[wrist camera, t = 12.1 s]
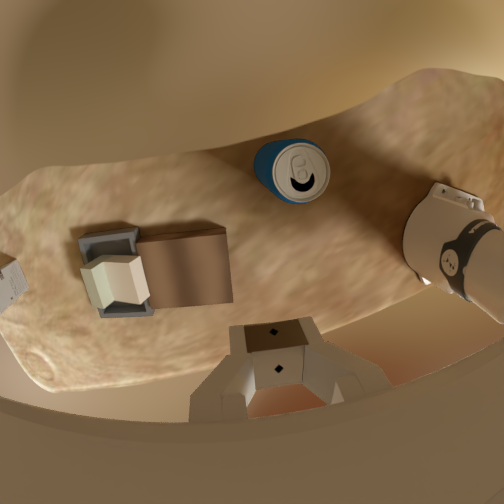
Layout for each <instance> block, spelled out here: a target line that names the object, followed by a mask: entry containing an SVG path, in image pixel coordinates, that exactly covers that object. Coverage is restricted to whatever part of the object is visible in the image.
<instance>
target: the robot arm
mask: <svg viewBox="0 0 504 504" xmlns="http://www.w3.org/2000/svg"><path fill="white" fill-rule="evenodd" d="M442 191H443V192H442ZM403 252H404V256H405V259H406V262H407V263H408V265H409V266H410V267H411V268H412V269H413V270H414V271H416V272H417V273H418V275H419V278H420V280H421V282H422V283H424V284H426V285H428V284H430V283H433V284H434V285H436V286H438V287H439V288H441V289H442V290H444V291H446V292H447V293H453V292H456V294H458V295H459V296H460V297H461V298H463V299H465V300H467V301H469V302H474V303H475V304H476V305H478V306H479V307H480V308H481V309H482V310H484V311H485V312H486V313H487V314H488V315H490V316H491V317H492V318H493V319H495V320H496V321H497V322H498V323H500V324H503V325H504V232H503V231H502V229H501V228H499V227H498V226H497V225H496V224H495V222H494V218H493V216H492V215H491V214H489V213H487V212H484V206H483V201H482V200H481V199H480V198H478V197H476V196H473V195H471V194H468V193H466V192H463V191H460V190H458V189H455V188H452V187H450V186H447V185H444V184H441V183H438V182H437V183H435V184H434V185H433V186H432V188H431V190H430V192H429V194H428V196H427V197H426V198H425V199H424V200H423V201H422V202H420V203H419V204H418V205H417V207H416V208H415V209H414V211H413V212H412V214H411V215H410V217H409V219H408V222H407V224H406V227H405V231H404V237H403ZM229 337H230V352H231V355H226V357H225V358H224V359H223V360H222V361H221V362H220V363H219V365H218V366H217V367H216V368H215V369H214V370H213V371H212V372H211V374H210V375H209V376H208V377H207V378H206V379H205V380H204V381H203V382H202V384H201V385H200V386H199V387H198V388H197V389H196V390H195V391H194V392H193V393H192V394H191V396H190V410H189V422H182V423H181V422H174V423H173V422H170V423H169V422H141V421H125V420H115V419H105V418H97V417H89V416H82V415H76V414H70V413H65V412H59V411H54V410H50V409H45V408H41V407H37V406H32V405H28V404H25V403H21V402H17V401H14V400H11V399H7V398H4V397H1V396H0V504H504V337H503V338H502V339H500V340H498V341H496V342H495V343H493V344H491V345H489V346H487V347H486V348H484V349H482V350H480V351H478V352H476V353H474V354H472V355H470V356H468V357H466V358H464V359H462V360H460V361H457V362H455V363H453V364H451V365H449V366H446V367H444V368H442V369H439V370H437V371H435V372H432V373H430V374H427V375H425V376H422V377H420V378H417V379H415V380H412V381H409V382H407V383H404V384H401V385H398V386H395V387H393V386H392V384H391V383H390V381H389V380H388V378H387V377H386V375H385V374H384V372H383V371H382V369H381V368H380V366H378V365H376V364H374V363H372V362H370V361H367V360H365V359H363V358H361V357H359V356H357V355H355V354H353V353H351V352H349V351H347V350H345V349H343V348H341V347H339V346H337V345H335V344H333V343H331V342H328V341H327V342H324V340H323V338H322V336H321V334H320V332H319V330H318V329H317V327H316V325H315V323H314V321H313V319H312V317H310V316H309V317H303V318H297V319H293V320H286V321H279V322H272V323H271V322H269V323H259V324H248V325H244V326H243V325H238V326H229ZM300 383H302V384H303V385H304V386H305V387H307V388H308V389H309V390H310V391H312V392H313V393H314V394H315V395H317V396H318V397H319V398H320V399H322V400H323V401H324V402H325V403H327V404H328V405H327V406H323V407H318V408H313V409H308V410H303V411H298V412H292V413H286V414H280V415H273V416H266V417H258V418H250V419H248V413H247V406H248V403H249V402H250V400H251V399H252V397H253V395H254V393H255V391H256V390H259V389H266V388H271V387H278V386H285V385H293V384H300Z"/></svg>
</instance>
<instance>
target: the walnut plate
mask: <svg viewBox="0 0 504 504" xmlns="http://www.w3.org/2000/svg"><path fill="white" fill-rule="evenodd" d="M136 247H137V252H138V256H140V257H141V262H142V266H143V270H144V274H145V278H146V282H147V286H148V290H149V293H150V296H149V297H148V299H149V303H150V307H151V309H161V308H175V307H188V306H201V305H212V304H223V303H233V293H232V284H231V274H230V265H229V255H228V245H227V235H226V228H217V229H207V230H197V231H188V232H178V233H169V234H160V235H152V236H143V237H141V238H140V239H139V240H138V242H137V243H136Z"/></svg>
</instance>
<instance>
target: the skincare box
mask: <svg viewBox="0 0 504 504" xmlns="http://www.w3.org/2000/svg"><path fill="white" fill-rule="evenodd" d="M28 289H29V287H28V284H27V282H26V279H25V277H24V275H23V272H22V270H21V268H20V265H19V263H18V261H17V260H14V261H12V262H9V263H7V264H5V265H3V266H2V267H0V314H2V313H3V312H4V311H5V310H6V309H7V308H8V307H9V306H10V305H11V304H12V303H13V302H14V301H15V300H17V299H18V298H19V297H20V296H21V295H22V294H23V293H24V292H25V291H27V290H28Z"/></svg>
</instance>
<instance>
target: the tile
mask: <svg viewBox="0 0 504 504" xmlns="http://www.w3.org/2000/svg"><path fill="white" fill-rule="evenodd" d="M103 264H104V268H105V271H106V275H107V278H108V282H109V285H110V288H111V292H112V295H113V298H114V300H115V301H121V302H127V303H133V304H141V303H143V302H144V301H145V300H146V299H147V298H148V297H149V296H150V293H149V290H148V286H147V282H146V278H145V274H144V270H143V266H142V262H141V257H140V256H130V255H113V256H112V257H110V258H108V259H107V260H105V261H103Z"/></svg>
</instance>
